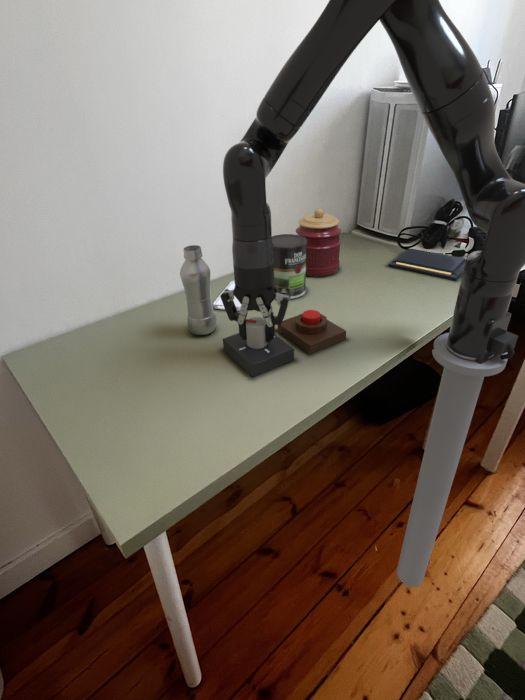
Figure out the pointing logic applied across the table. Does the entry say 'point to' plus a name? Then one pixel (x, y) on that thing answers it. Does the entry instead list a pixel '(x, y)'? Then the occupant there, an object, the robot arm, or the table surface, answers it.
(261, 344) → the brew dial
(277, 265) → the coffee can
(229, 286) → the phone case
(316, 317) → the power button
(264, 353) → the dial console
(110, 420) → the table surface
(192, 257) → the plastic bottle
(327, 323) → the power button base
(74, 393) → the table surface
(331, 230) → the kitchen canister
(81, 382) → the table surface
